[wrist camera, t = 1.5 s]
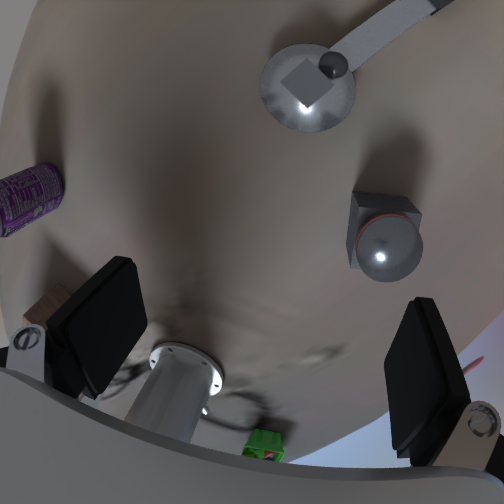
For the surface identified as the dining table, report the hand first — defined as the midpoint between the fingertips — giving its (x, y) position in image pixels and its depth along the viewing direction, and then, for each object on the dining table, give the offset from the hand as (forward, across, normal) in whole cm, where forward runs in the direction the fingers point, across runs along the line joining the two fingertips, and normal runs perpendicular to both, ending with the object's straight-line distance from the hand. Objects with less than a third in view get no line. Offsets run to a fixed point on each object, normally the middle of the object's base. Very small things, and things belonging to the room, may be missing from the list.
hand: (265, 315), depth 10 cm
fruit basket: (+21, +1, +52) cm, 56 cm away
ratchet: (+22, -8, -16) cm, 28 cm away
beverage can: (+21, +34, +3) cm, 40 cm away
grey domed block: (+21, -8, +4) cm, 23 cm away
